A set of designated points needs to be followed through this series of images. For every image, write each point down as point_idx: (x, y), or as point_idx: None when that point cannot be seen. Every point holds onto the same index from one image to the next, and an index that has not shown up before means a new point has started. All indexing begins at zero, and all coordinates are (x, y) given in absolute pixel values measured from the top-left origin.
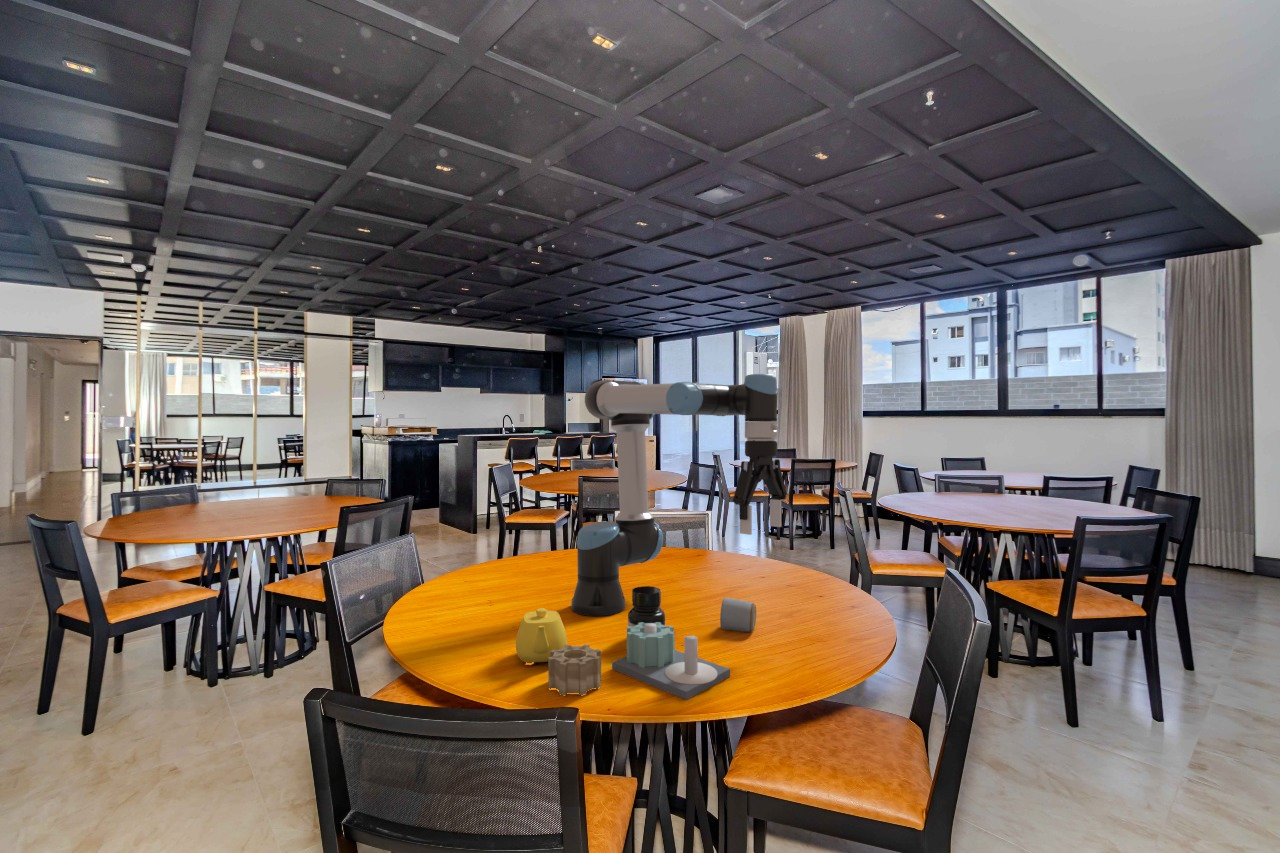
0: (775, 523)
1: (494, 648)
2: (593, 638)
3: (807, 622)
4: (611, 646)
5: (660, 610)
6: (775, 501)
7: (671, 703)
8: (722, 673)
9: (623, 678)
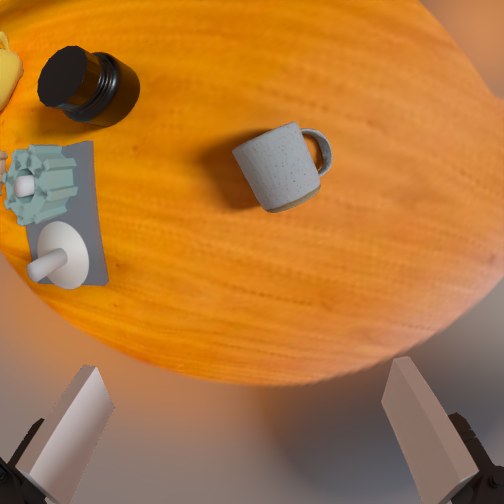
0: (391, 395)
1: None
2: None
3: (398, 244)
4: None
5: (92, 106)
6: (435, 493)
7: None
8: (90, 284)
9: None
